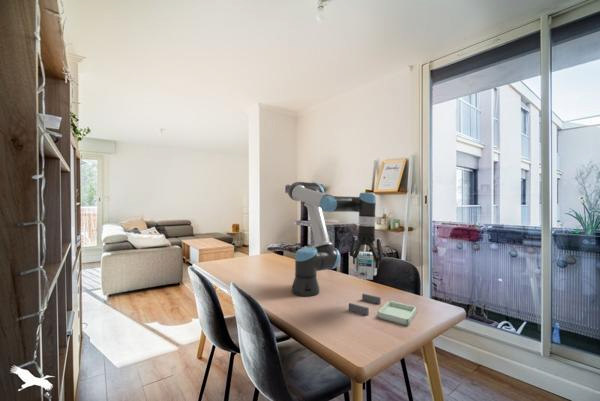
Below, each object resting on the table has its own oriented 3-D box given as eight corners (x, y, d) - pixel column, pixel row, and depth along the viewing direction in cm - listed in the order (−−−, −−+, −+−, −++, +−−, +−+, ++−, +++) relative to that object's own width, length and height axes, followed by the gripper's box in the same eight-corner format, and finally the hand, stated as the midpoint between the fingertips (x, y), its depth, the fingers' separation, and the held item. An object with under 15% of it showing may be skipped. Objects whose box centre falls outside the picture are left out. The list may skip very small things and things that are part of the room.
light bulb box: (373, 280, 121) (373, 256, 121) (357, 278, 122) (358, 255, 122) (371, 273, 131) (372, 251, 131) (357, 272, 133) (358, 250, 133)
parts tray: (377, 317, 115) (377, 311, 115) (389, 305, 128) (389, 300, 128) (408, 326, 107) (408, 319, 108) (417, 312, 121) (417, 306, 121)
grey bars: (348, 310, 122) (348, 303, 122) (363, 299, 136) (363, 293, 136) (367, 315, 117) (367, 308, 117) (380, 303, 131) (380, 297, 131)
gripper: (342, 224, 130) (341, 270, 130) (386, 227, 117) (385, 279, 118) (349, 223, 136) (348, 267, 136) (391, 226, 124) (390, 275, 124)
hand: (365, 273), depth 127 cm, fingers closed on light bulb box, 8 cm apart
